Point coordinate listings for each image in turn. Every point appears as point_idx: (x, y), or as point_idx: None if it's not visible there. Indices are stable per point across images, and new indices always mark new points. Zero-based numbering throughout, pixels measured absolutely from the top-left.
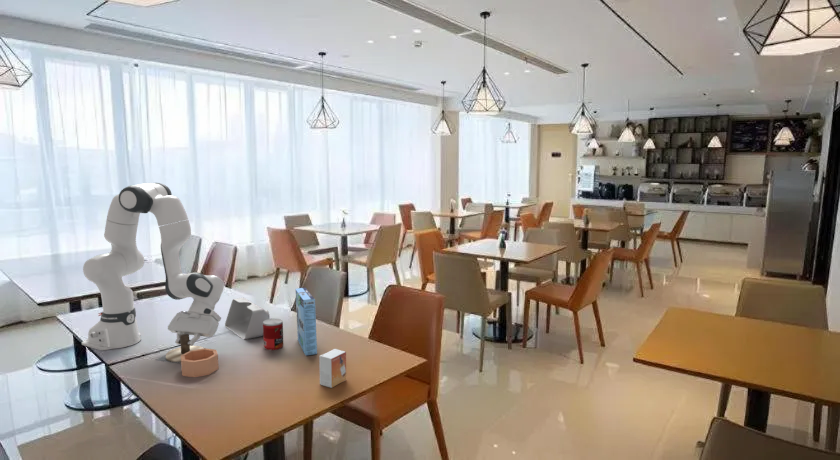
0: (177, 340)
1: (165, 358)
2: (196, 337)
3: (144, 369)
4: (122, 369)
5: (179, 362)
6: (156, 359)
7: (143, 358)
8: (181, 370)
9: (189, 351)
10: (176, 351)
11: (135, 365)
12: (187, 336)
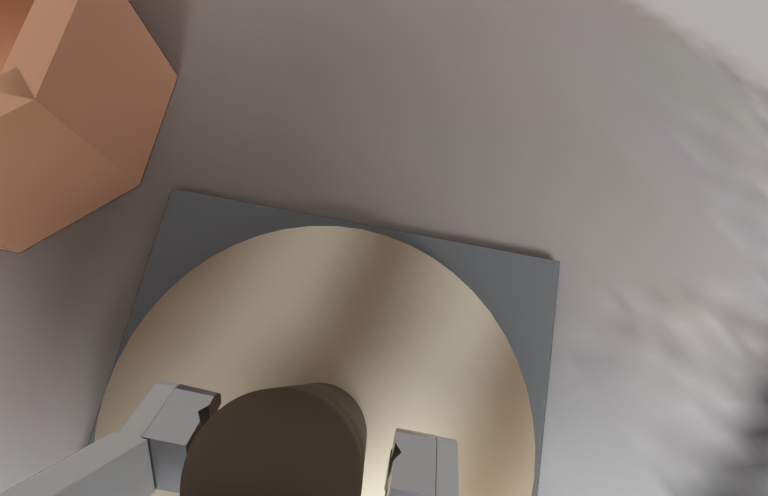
0: (427, 457)
1: None
2: (32, 493)
3: (520, 89)
4: (702, 76)
5: (278, 223)
6: (556, 274)
7: (719, 314)
8: (173, 70)
9: (35, 72)
10: None
11: (661, 156)
12: (192, 448)
